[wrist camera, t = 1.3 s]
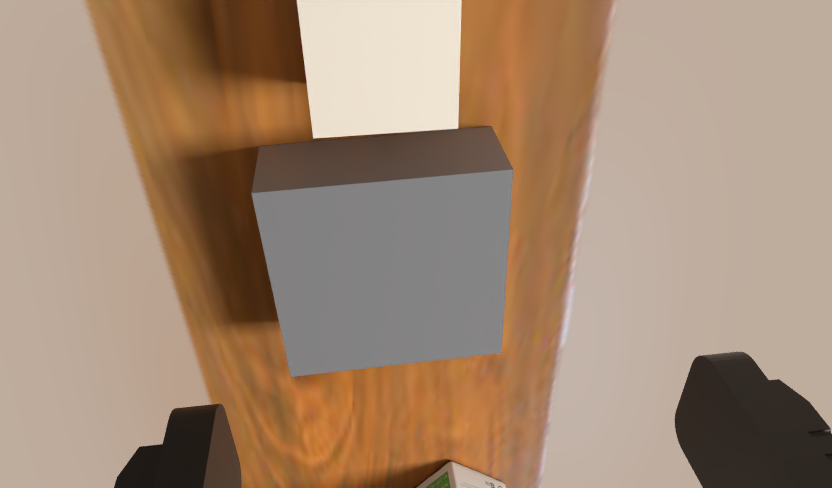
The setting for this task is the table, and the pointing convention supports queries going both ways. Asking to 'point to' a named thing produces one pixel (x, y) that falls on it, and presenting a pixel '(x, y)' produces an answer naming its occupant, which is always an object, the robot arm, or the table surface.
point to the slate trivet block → (386, 247)
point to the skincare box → (460, 478)
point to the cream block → (381, 65)
